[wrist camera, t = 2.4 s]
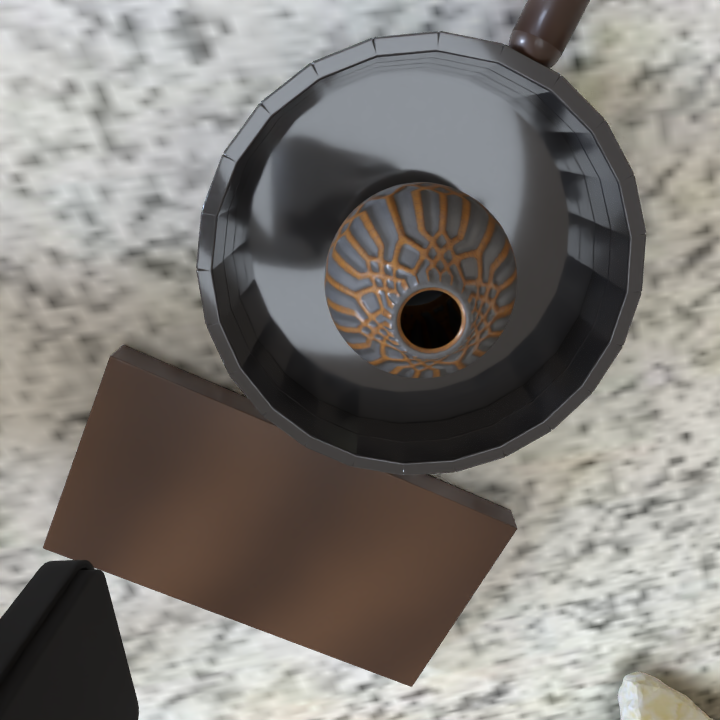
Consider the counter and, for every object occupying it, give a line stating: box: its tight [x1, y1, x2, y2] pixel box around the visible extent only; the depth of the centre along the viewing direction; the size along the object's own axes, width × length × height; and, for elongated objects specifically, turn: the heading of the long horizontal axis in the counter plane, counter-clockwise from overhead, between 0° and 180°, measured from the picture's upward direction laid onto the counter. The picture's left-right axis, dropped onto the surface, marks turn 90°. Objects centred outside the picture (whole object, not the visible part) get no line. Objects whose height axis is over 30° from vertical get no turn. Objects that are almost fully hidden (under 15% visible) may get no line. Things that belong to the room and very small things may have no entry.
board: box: [43, 345, 517, 687], centre depth 31 cm, size 20×11×2 cm, turn 65°
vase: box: [324, 182, 517, 378], centre depth 22 cm, size 7×7×9 cm
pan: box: [196, 31, 646, 475], centre depth 25 cm, size 16×16×4 cm
